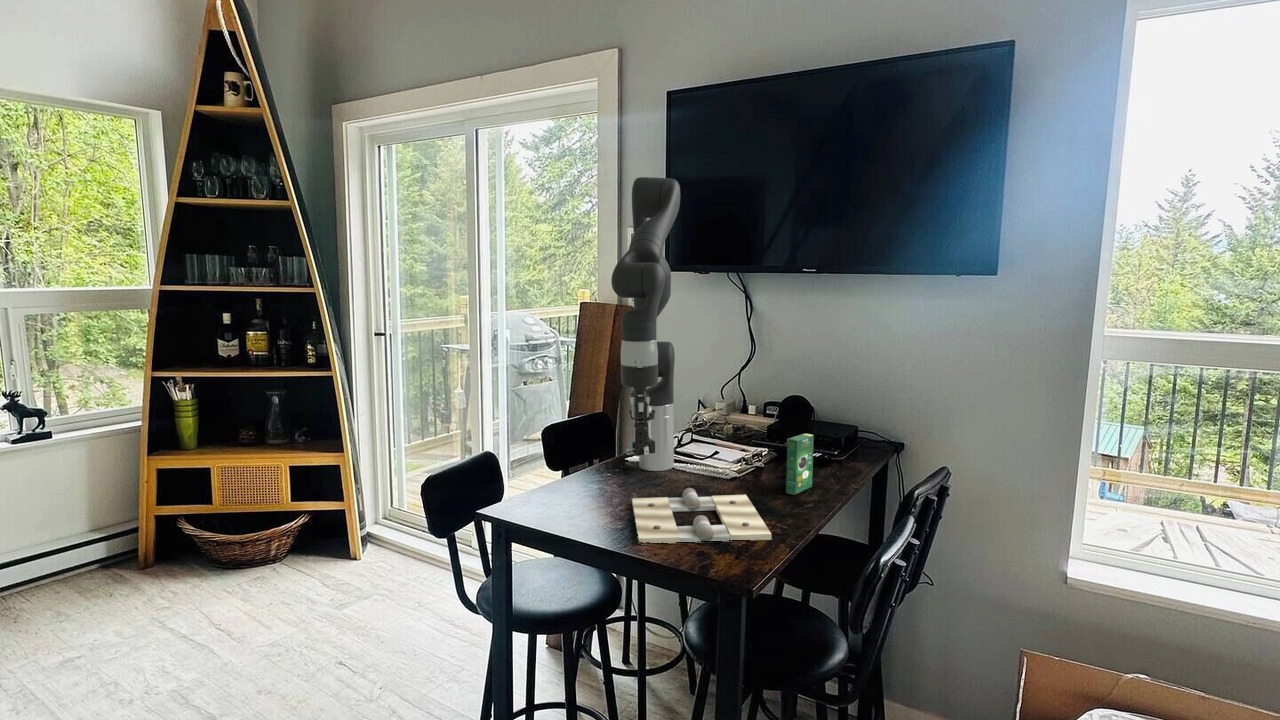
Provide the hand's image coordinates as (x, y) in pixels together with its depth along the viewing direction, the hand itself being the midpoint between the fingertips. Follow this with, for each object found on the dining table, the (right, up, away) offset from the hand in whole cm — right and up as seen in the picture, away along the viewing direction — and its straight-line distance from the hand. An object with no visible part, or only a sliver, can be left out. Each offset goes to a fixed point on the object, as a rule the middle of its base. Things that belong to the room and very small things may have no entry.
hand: (640, 443), depth 145 cm
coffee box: (+38, -14, +21) cm, 46 cm away
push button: (0, -2, 0) cm, 2 cm away
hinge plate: (+12, -17, +3) cm, 21 cm away
